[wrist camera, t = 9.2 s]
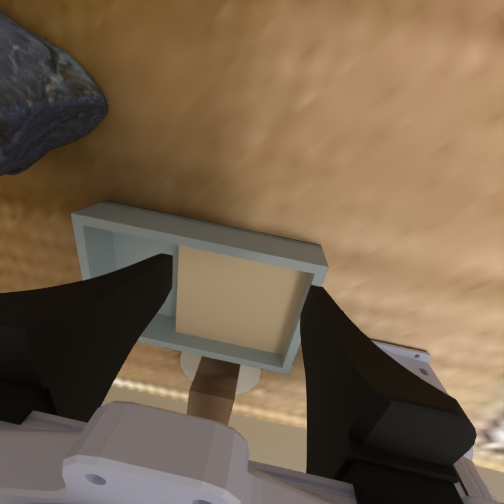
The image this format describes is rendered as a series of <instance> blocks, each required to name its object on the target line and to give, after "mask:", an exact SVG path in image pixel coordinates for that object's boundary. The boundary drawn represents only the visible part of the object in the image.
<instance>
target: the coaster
mask: <svg viewBox="0 0 504 504" xmlns="http://www.w3.org/2000/svg"><path fill="white" fill-rule="evenodd" d="M201 357H202V356H200V355H196V354H191V353H187V352H182V354H181V357H180V365H181V368H182V371H183V373H184V374H185V376H186V377H187V378H188V379H189V380H190V381H191V382H193V379H194V377H195V374H196V371H197V368H198V366H199V363H200V360H201ZM260 376H261V369H259V368H254V367H250V366H245V365H240V371H239V376H238V382H237V387H236V393H235V395H237V394H241V393H244V392H247V391H249V390H251V389H252V388H253V387H254V386H255V385H256V384H257V383H258V381H259V379H260Z"/></svg>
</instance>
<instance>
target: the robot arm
mask: <svg viewBox="0 0 504 504" xmlns="http://www.w3.org/2000/svg"><path fill="white" fill-rule="evenodd" d="M172 278H173V255H169V254H164V253H160V254H157V255H154V256H152V257H149V258H147V259H145V260H142V261H140V262H137V263H135V264H132V265H130V266H127V267H124V268H121V269H119V270H116V271H113V272H110V273H107V274H104V275H101V276H98V277H94V278H90V279H87V280H83V281H79V282H74V283H69V284H64V285H59V286H54V287H48V288H42V289H35V290H27V291H19V292H9V293H0V504H504V503H502V502H498V501H497V499H496V498H495V496H494V494H493V493H492V491H491V489H490V488H489V486H488V485H487V483H486V481H485V480H484V478H483V476H482V475H481V473H480V472H479V471H478V469H477V467H476V466H475V464H474V463H473V461H472V457H473V445H474V443H475V439H476V436H477V435H476V431H475V428H474V426H473V425H472V423H471V422H470V420H469V419H468V417H467V416H466V414H465V413H464V411H463V409H462V408H461V406H460V405H459V403H458V402H457V400H456V399H454V398H452V397H451V396H449V395H448V393H447V392H446V390H445V388H444V387H443V385H442V384H441V382H440V381H439V379H438V378H437V376H436V374H435V373H434V371H433V370H432V368H431V367H430V365H429V363H428V362H429V361H430V360H431V358H432V357H431V355H430V354H429V353H428V352H424V351H419V350H414V349H410V348H405V347H401V346H396V345H391V344H387V343H382V342H377V341H373V340H370V339H369V338H368V337H367V336H366V335H365V334H364V333H363V332H361V331H360V330H359V329H358V327H357V326H356V325H355V324H354V323H353V322H352V321H351V320H350V319H349V318H348V317H347V316H346V315H345V313H344V312H343V311H342V310H341V309H340V308H339V306H338V305H337V304H336V303H335V301H334V300H333V299H332V298H331V296H330V295H329V294H328V293H327V292H326V290H325V289H324V288H323V287H320V286H315V285H310V288H309V291H308V294H307V297H306V300H305V303H304V305H303V308H302V311H301V314H300V337H301V345H302V353H303V360H304V368H305V376H306V394H307V468H306V473H303V472H298V471H294V470H290V469H285V468H281V467H277V466H272V465H268V464H264V463H259V462H255V461H250V460H248V459H249V450H248V443H247V441H246V440H245V438H244V437H243V436H242V435H241V434H239V433H238V432H237V431H236V430H235V429H234V428H232V427H230V426H227V425H225V424H222V423H220V422H217V421H213V420H209V419H205V418H200V417H196V416H191V415H187V414H182V413H178V412H174V411H169V410H165V409H160V408H156V407H152V406H147V405H143V404H138V403H134V402H124V401H113V402H110V403H108V404H106V405H103V406H101V404H102V403H103V401H104V399H105V397H106V395H107V393H108V391H109V389H110V387H111V385H112V383H113V381H114V380H115V378H116V376H117V374H118V372H119V371H120V369H121V367H122V365H123V363H124V362H125V360H126V358H127V356H128V355H129V353H130V351H131V350H132V348H133V346H134V345H135V343H136V342H137V340H138V339H139V337H140V336H141V334H142V333H143V332H144V330H145V329H146V328H147V326H148V325H149V323H150V322H151V321H152V319H153V318H154V317H155V315H156V314H157V312H158V311H159V310H160V308H161V307H162V305H163V304H164V302H165V301H166V299H167V297H168V295H169V293H170V291H171V289H172ZM416 354H417V355H416ZM100 406H101V407H100Z"/></svg>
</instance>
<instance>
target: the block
mask: <svg viewBox="0 0 504 504" xmlns="http://www.w3.org/2000/svg"><path fill="white" fill-rule="evenodd" d="M240 365H241V364H236V363H232V362H227V361H223V360H218V359H214V358H209V357H205V356H202V357H201V360H200V363H199V366H198V368H197V371H196V374H195V377H194V379H193V382H192V385H191V388H190V391H189V399H188V409H187V415H191V416H196V417H200V418H205V419H209V420H213V421H217V422H220V423H222V424H225V425H227V426H228V422H229V418H230V414H231V411H232V407H233V403H234V398H235V393H236V387H237V382H238V376H239V371H240Z"/></svg>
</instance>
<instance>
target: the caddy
mask: <svg viewBox="0 0 504 504" xmlns="http://www.w3.org/2000/svg"><path fill="white" fill-rule="evenodd" d="M71 218H72V223H73V229H74V235H75V241H76V246H77V252H78V258H79V264H80V269H81V275H82V281H83V280H87V279H90V278H94V277H98V276H101V275H104V274H107V273H110V272H113V271H116V270H119V269H121V268H124V267H127V266H130V265H132V264H135V263H137V262H140V261H142V260H145V259H147V258H149V257H152V256H154V255H157V254H160V253H164V254H169V255H173V278H172V289H171V291H170V293H169V295H168V297H167V299H166V301H165V302H164V304H163V305H162V307H161V308H160V310H159V311H158V312H157V314H156V315H155V317H154V318H153V319H152V321H151V322H150V323H149V325H148V326H147V328H146V329H145V330H144V332H143V333H142V334H141V336H140V337H139V339H138V340H137V342H141V343H146V344H150V345H155V346H159V347H164V348H168V349H173V350H178V351H182V352H187V353H191V354H196V355H200V356H205V357H209V358H214V359H218V360H223V361H227V362H232V363H236V364H241V365H245V366H250V367H254V368H259V369H263V370H268V371H272V372H277V373H282V374H286V375H289V372H290V370H291V367H292V364H293V362H294V359H295V356H296V354H297V351H298V348H299V346H300V343H301V337H300V314H301V311H302V308H303V305H304V303H305V300H306V297H307V294H308V291H309V288H310V285H315V286H320V287H321V286H322V284H323V281H324V278H325V275H326V273H327V270H328V264H327V261H326V258H325V255H324V253H323V250H322V247H321V245H318V244H313V243H308V242H303V241H298V240H294V239H289V238H284V237H279V236H274V235H269V234H265V233H260V232H255V231H250V230H245V229H240V228H236V227H231V226H226V225H221V224H216V223H211V222H207V221H202V220H197V219H192V218H187V217H182V216H178V215H173V214H168V213H163V212H158V211H154V210H149V209H144V208H139V207H134V206H129V205H125V204H120V203H115V202H110V201H102V202H100V203H97V204H94V205H92V206H89V207H86V208H83V209H81V210H78V211H75V212H73V213H71Z"/></svg>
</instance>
